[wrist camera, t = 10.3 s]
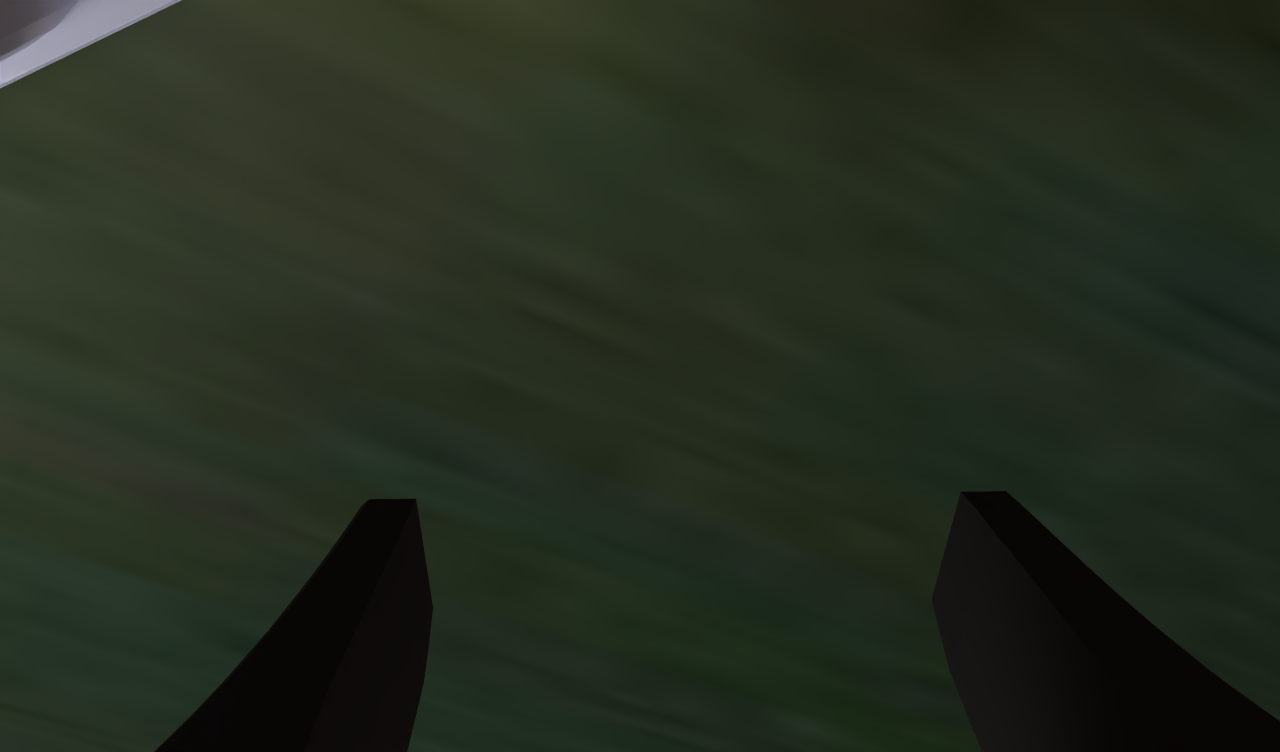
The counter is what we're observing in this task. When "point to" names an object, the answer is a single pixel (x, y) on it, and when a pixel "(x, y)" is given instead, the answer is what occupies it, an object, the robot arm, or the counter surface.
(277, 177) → the counter surface
